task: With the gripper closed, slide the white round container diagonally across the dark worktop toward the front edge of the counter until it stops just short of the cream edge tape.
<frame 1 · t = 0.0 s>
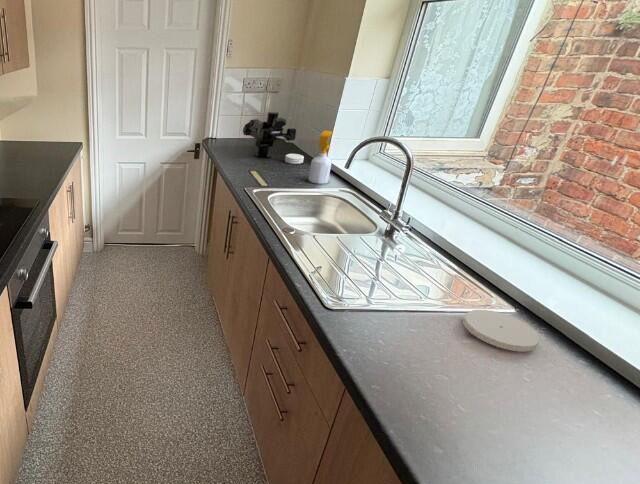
hand: (284, 138, 219), 17 cm above the worktop, tool horizontal, fingers open, 9 cm apart
edge tape: (258, 178, 212), on the worktop
plastic lid: (497, 335, 101), on the worktop
soap bottle: (317, 181, 206), on the worktop
white round container: (293, 162, 238), on the worktop
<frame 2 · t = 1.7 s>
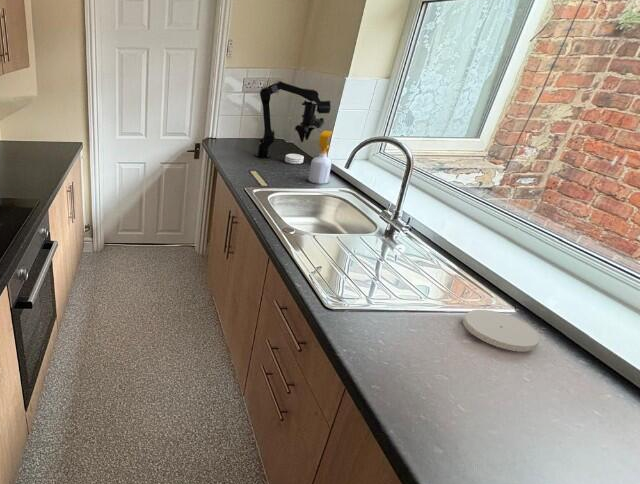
hand: (304, 140, 241), 10 cm above the worktop, tool pointing down, fingers open, 6 cm apart
nothing on the worktop moved.
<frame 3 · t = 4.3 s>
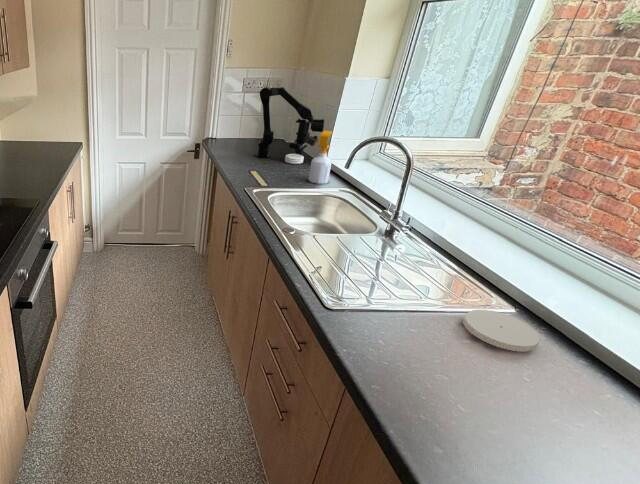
hand: (298, 157, 242), 1 cm above the worktop, tool pointing down, fingers closed
white round container: (293, 162, 238), on the worktop, touching gripper
everything else where it was.
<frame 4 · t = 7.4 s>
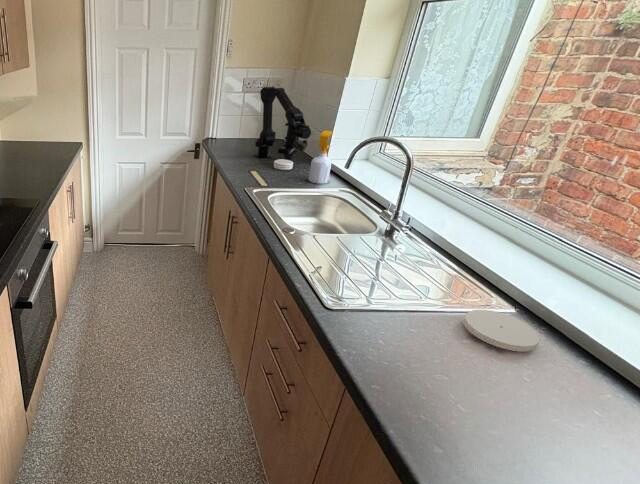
hand: (287, 163, 232), 1 cm above the worktop, tool pointing down, fingers closed
white round container: (282, 168, 228), on the worktop, touching gripper
everything else where it was.
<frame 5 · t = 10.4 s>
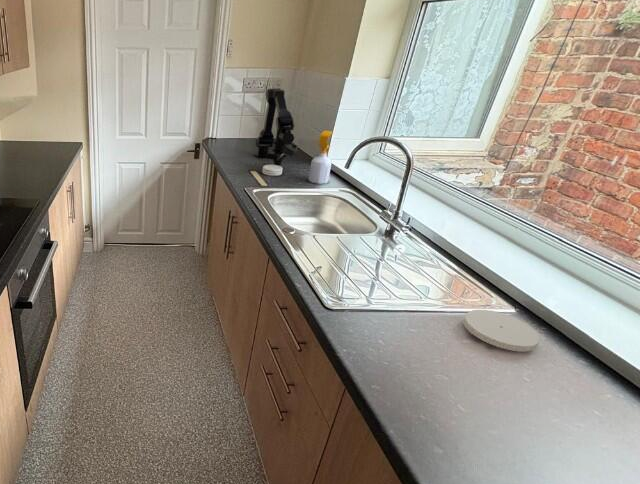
hand: (277, 168, 223), 1 cm above the worktop, tool pointing down, fingers closed
white round container: (271, 173, 219), on the worktop, touching gripper
everything else where it was.
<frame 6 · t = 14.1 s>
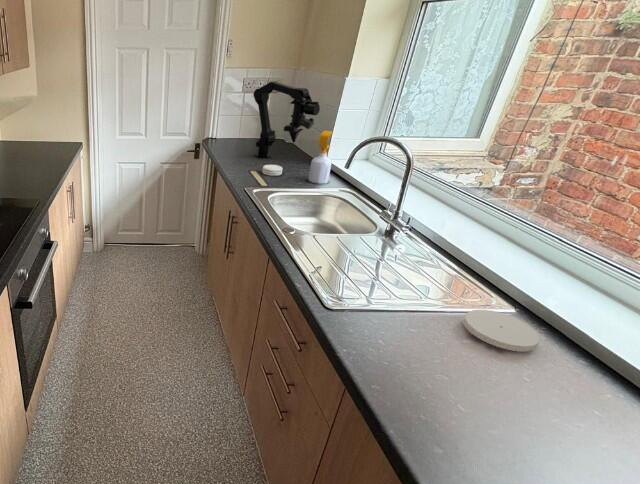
hand: (293, 142, 231), 12 cm above the worktop, tool pointing down, fingers closed
white round container: (271, 173, 219), on the worktop
everything else where it was.
at the end: white round container moved 28.5 cm from its start; white round container 12.1 cm from the edge tape (horizontally); white round container inside the target area on the worktop beside the edge tape (1.9 cm from its centre), on the worktop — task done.
